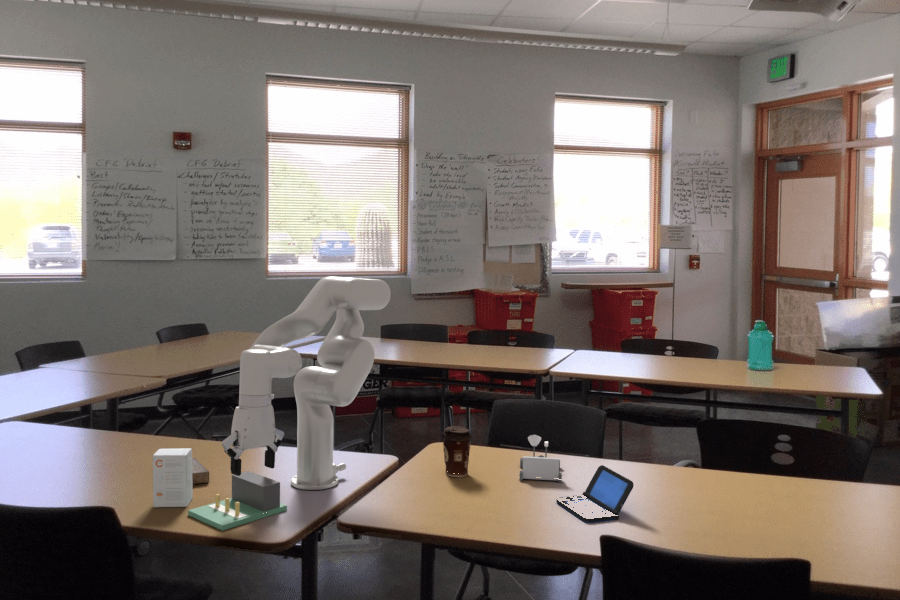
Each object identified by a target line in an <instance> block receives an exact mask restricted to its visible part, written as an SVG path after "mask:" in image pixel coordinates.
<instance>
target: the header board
mask: <svg viewBox="0 0 900 600" xmlns="http://www.w3.org/2000/svg"><path fill="white" fill-rule="evenodd" d="M214 496H215V502H213V503H208V504H205V505H202V506H198V507H195V508H191V509H188V511H187V515H188V516H189V517H191V518H193V519H196V520H198V521H200V522H203V524H206V525H208V526H211V527H214V528H216V529H217V530H220V531H221V532H222V531H225V530H226V531H227V530H228V529H229V530H230V529H232V528H235V527H238V526H241V525H244V524H248V523H251V522H254V521H257V520H261V519H263V518H266V517H270V516H273V515H277V514H279V513H282V512H286V511H288V506H287V505H286V504H285V503H282V502H280V507H277V508H273V509H270V510H267V511H264V512H263V511H261V510H258V509H256V508H253V507H251V506H248V505H246V504H243V503H241V502H238V501H236V500H233V499H232V497H231V498H229V497H226V498H224V500H221V495H220V493H216V494H215V495H214ZM266 512H267V513H266ZM263 513H264V514H263Z"/></svg>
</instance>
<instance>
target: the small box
mask: <svg viewBox="0 0 900 600" xmlns="http://www.w3.org/2000/svg"><path fill="white" fill-rule="evenodd" d="M192 449H193V448H190V447H189V448H188V447H186V448H181V447H180V448H159V449H157V451H155V452H154V453H153V455H152V498H153V499H152V503H153V505H152V506H153V508H182V507H183V508H186V507H188V505H190V503H191V501H192V499H193V495H194V494H193V486H194V485H193V483H192V458H193V450H192Z"/></svg>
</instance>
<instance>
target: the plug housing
mask: <svg viewBox="0 0 900 600" xmlns="http://www.w3.org/2000/svg"><path fill="white" fill-rule="evenodd" d="M231 498H232V499H233V500H236V501H238V502H241V503H243V504H246V505H248V506H251V507H253V508H256V509H258V510H261V511H263V512H264V511H267V510H270V509H273V508H277V507H280V503H281V482H280V481H278V480H275V479H272V478H270V477H267V476H263V475H260V474H258V473H255V472H252V471H249V470H246V471H243V472H242V471H241V475H240V476H237V475H234V474H231Z"/></svg>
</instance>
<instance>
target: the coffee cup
mask: <svg viewBox="0 0 900 600" xmlns="http://www.w3.org/2000/svg"><path fill="white" fill-rule="evenodd" d="M441 435H442V437H443V439H444V440H443V443H442V445H443V447H442V448H443V456H444V464H445V475H447V476H449V477H454V478H464V477H467V476H468V474H469V471H468V470H469V461H470V451H471V439H473V435H472V433H471V432H470V429H469V428H466V427H464V426H459V425H458V426H453V425H452V426H451V425H450V426H447V427H446V428H445V429H444V430H443V432H442V433H441ZM447 471H448V472H447ZM453 473H455V474H453ZM458 473H459V474H458Z"/></svg>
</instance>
